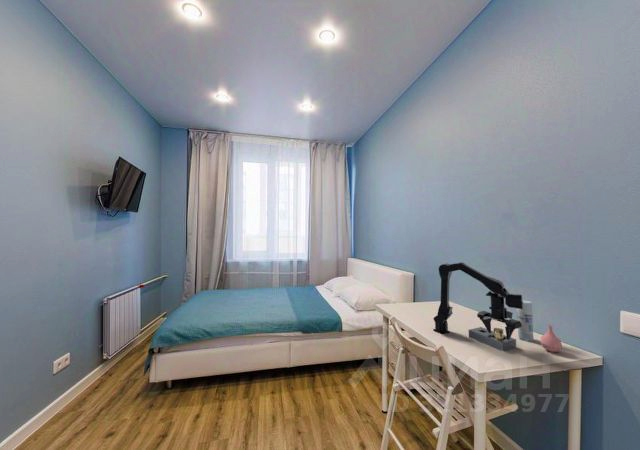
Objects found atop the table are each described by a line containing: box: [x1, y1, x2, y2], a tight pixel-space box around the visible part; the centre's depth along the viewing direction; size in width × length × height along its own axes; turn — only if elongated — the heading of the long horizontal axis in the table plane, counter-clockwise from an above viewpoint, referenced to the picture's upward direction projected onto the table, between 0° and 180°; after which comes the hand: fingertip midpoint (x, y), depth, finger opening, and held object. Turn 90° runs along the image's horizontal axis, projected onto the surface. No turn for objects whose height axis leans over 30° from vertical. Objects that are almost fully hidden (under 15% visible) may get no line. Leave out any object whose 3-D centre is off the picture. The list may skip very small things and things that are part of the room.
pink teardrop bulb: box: [540, 324, 563, 353], centre depth 119 cm, size 8×8×12 cm
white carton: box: [516, 299, 534, 343], centre depth 133 cm, size 6×6×20 cm
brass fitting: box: [493, 327, 505, 340], centre depth 126 cm, size 4×4×8 cm
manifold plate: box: [468, 326, 517, 352], centre depth 130 cm, size 10×18×4 cm, turn 22°
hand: (498, 336), depth 126 cm, fingers open, 9 cm apart
